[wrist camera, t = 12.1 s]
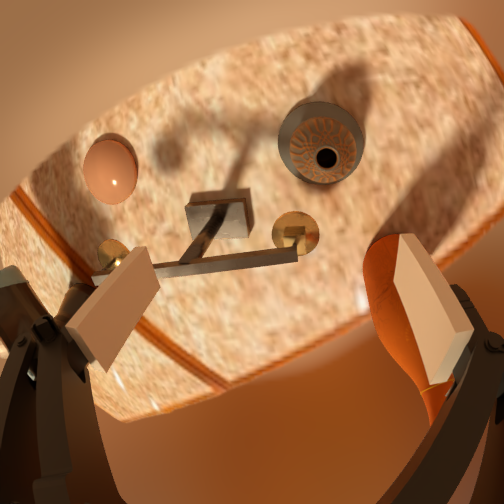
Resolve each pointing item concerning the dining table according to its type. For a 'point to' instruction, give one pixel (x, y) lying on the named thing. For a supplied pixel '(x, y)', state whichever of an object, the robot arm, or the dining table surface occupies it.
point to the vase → (322, 149)
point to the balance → (223, 227)
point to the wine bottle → (397, 321)
